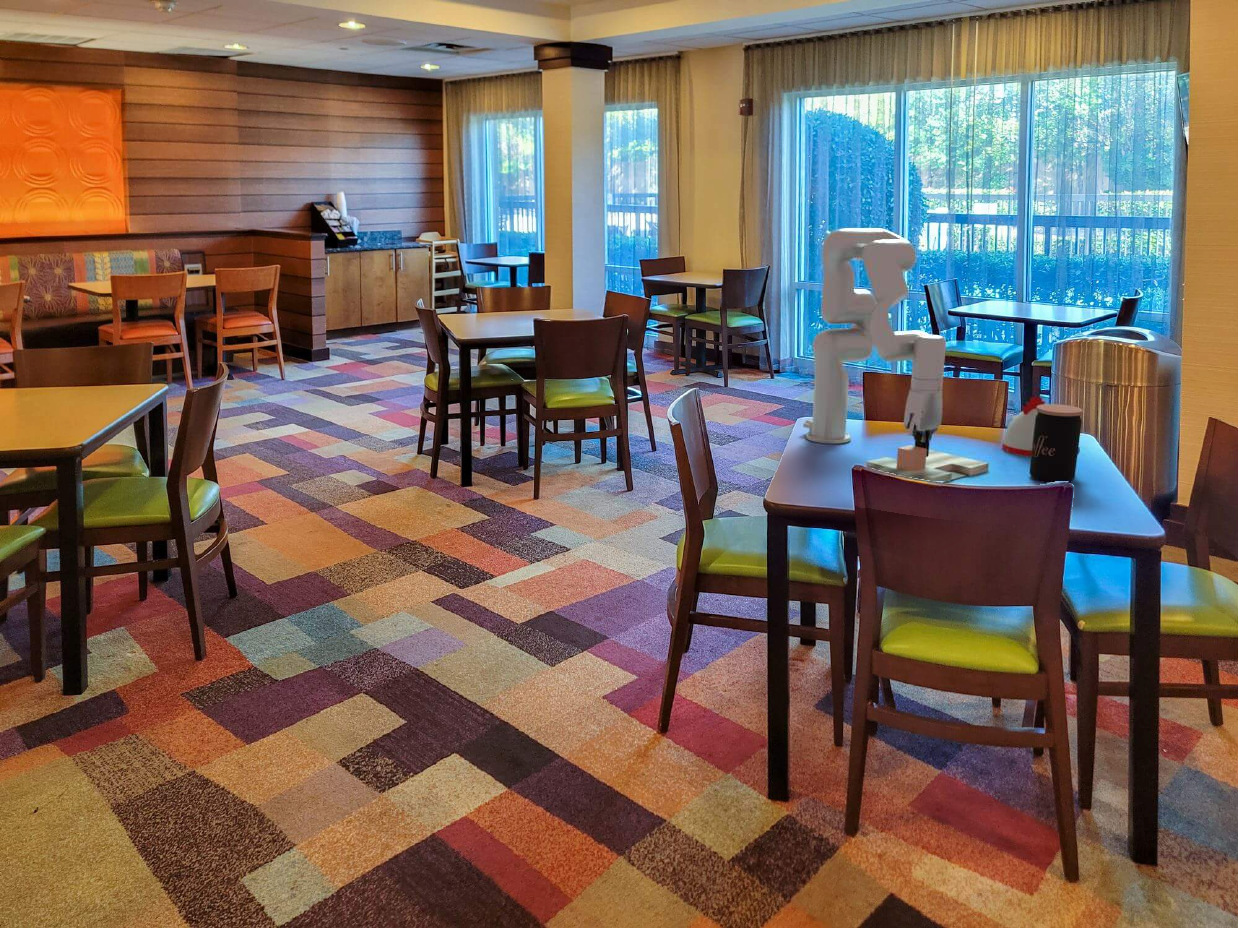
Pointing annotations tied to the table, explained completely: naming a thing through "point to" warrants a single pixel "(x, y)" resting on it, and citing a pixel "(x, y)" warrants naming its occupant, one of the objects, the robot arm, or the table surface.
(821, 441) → the robot arm
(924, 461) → the block
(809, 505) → the table surface
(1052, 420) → the coffee jar
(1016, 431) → the kitchen timer
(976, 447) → the table surface
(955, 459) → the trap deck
